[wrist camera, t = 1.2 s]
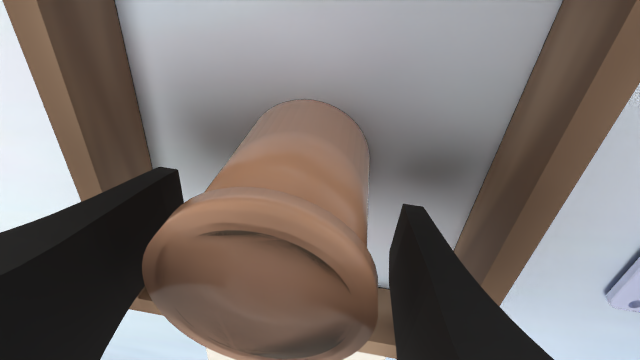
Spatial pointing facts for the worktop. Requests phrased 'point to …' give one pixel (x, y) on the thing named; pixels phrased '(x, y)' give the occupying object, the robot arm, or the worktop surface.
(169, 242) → the terracotta pot
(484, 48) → the worktop surface
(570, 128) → the box
